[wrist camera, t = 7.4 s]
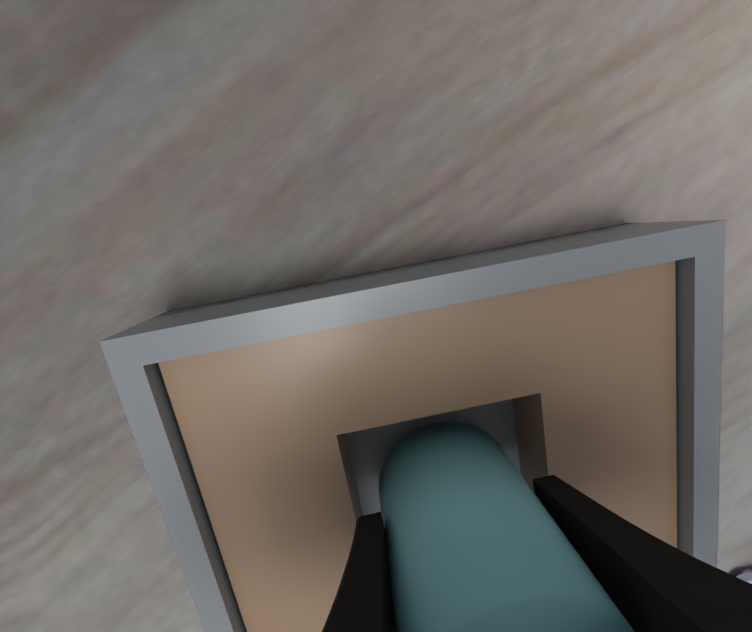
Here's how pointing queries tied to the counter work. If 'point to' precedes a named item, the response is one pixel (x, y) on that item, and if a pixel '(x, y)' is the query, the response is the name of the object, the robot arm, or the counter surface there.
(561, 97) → the counter surface
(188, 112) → the counter surface
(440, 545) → the teal peg
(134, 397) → the bore box
